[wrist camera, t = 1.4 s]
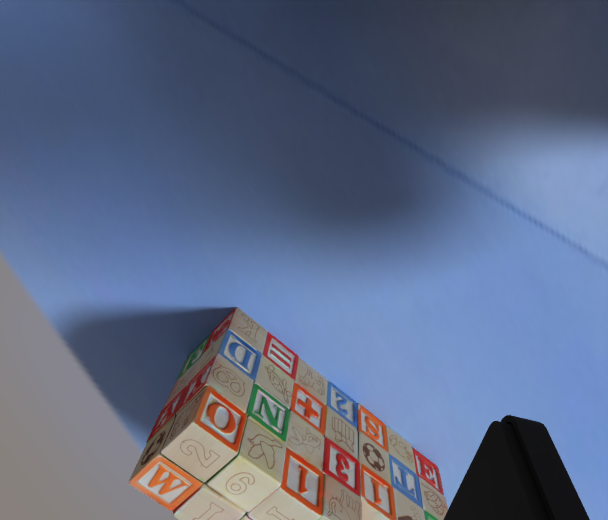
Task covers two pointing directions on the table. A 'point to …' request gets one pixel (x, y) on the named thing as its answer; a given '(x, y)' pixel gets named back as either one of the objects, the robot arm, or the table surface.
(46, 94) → the table surface
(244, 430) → the stack of blocks
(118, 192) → the table surface
